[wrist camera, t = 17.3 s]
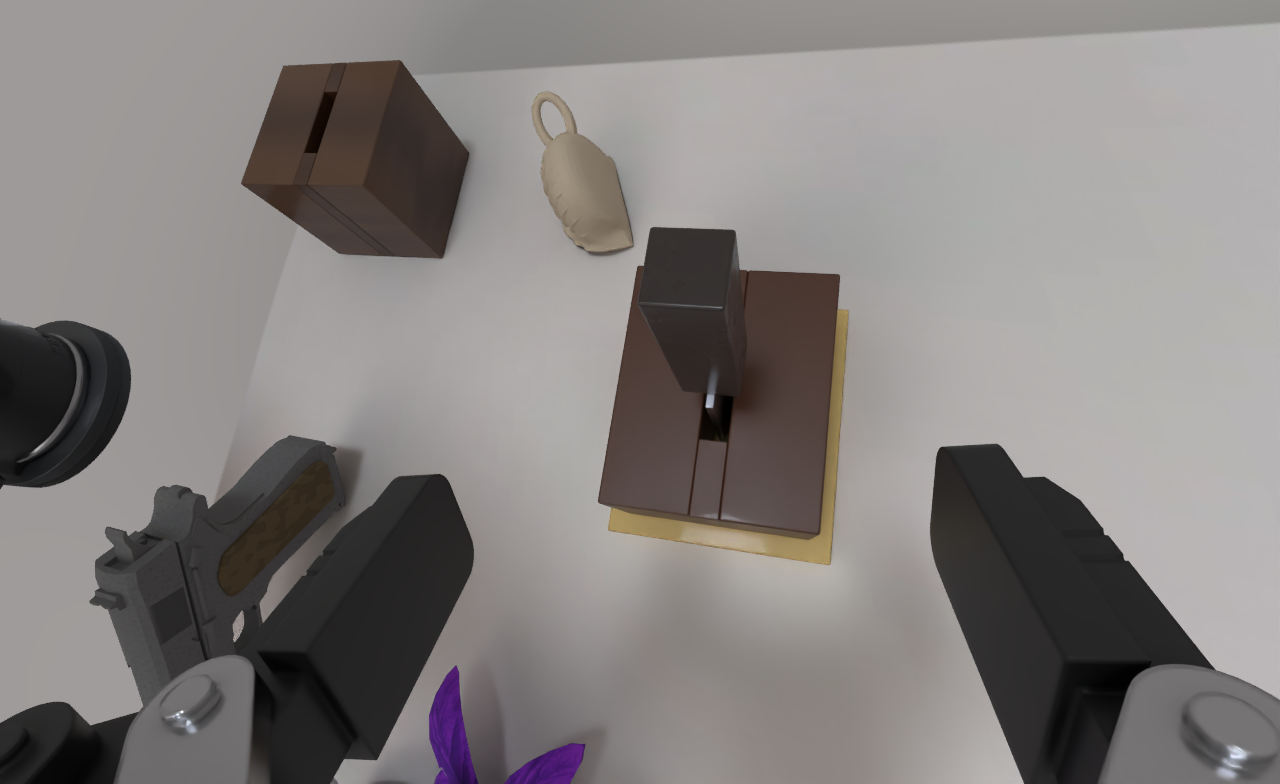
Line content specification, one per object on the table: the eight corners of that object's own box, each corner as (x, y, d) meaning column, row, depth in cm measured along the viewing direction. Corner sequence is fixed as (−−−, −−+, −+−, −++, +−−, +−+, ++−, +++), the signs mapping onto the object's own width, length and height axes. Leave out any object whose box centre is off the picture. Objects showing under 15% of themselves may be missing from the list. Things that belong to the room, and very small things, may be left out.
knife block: (442, 258, 38) (362, 185, 31) (339, 254, 40) (239, 183, 33) (469, 152, 40) (400, 59, 33) (369, 153, 42) (282, 64, 35)
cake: (828, 565, 29) (852, 567, 20) (612, 531, 31) (555, 520, 23) (846, 316, 32) (873, 231, 23) (648, 305, 34) (610, 224, 26)
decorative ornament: (570, 267, 36) (538, 220, 31) (552, 156, 39) (519, 96, 34) (633, 249, 36) (611, 198, 30) (610, 138, 38) (586, 74, 33)
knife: (747, 452, 30) (722, 330, 14) (704, 447, 30) (632, 323, 14) (754, 392, 31) (738, 210, 15) (712, 388, 31) (652, 208, 15)
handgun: (339, 426, 33) (103, 541, 22) (373, 675, 39) (201, 862, 28) (298, 418, 34) (51, 526, 23) (338, 665, 40) (157, 842, 29)
